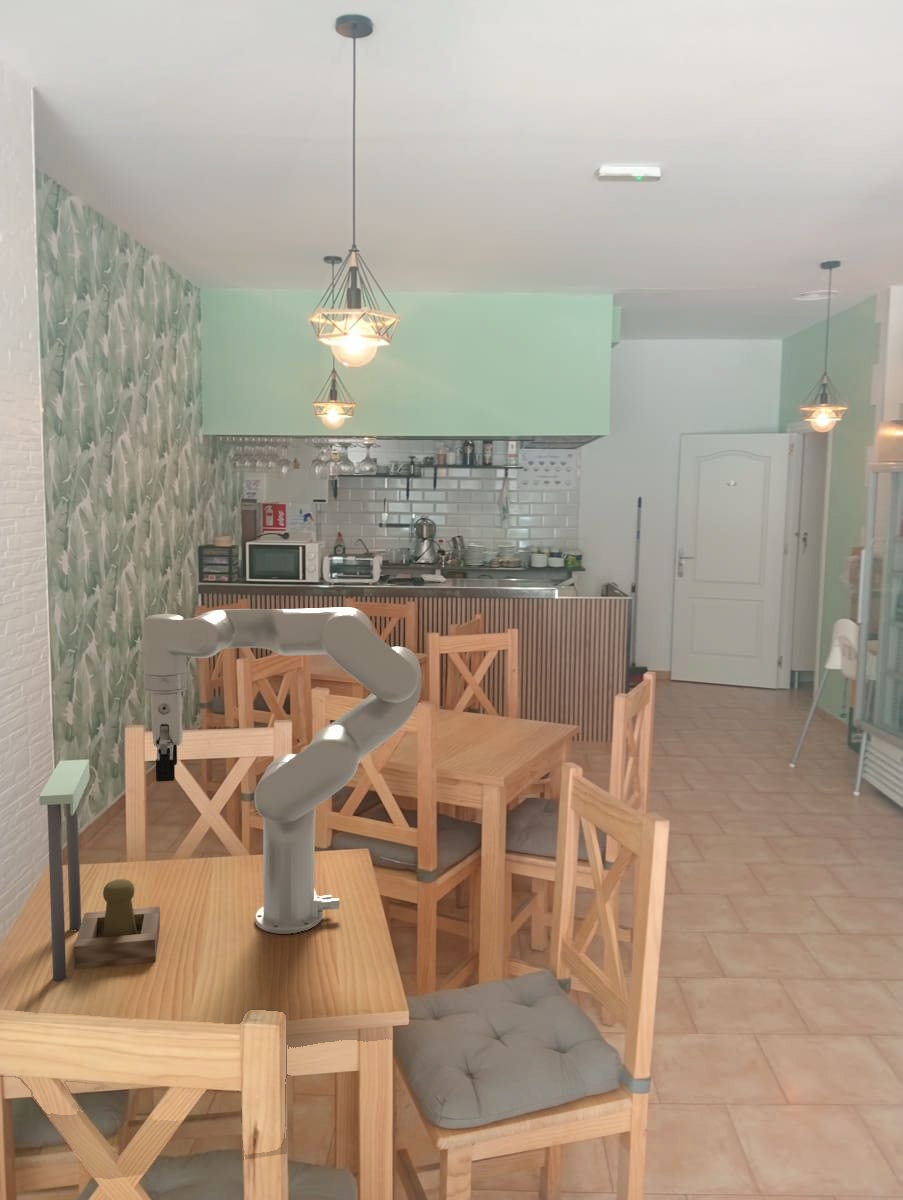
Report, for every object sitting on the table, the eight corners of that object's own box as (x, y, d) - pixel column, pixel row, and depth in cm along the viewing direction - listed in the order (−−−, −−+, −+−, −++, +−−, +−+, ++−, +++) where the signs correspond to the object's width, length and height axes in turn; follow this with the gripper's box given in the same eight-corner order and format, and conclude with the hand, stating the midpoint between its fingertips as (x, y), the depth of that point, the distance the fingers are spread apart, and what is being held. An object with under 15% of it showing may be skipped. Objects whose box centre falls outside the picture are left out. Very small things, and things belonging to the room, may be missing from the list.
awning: (93, 924, 176) (89, 759, 172) (78, 979, 157) (72, 794, 153) (64, 927, 175) (59, 760, 171) (45, 982, 155) (39, 796, 152)
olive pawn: (126, 951, 164) (124, 891, 163) (94, 947, 165) (93, 887, 164) (144, 936, 170) (143, 877, 168) (114, 932, 171) (112, 873, 170)
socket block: (159, 927, 175) (159, 906, 175) (155, 961, 163) (154, 939, 162) (85, 933, 172) (84, 912, 172) (74, 969, 160) (74, 946, 159)
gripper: (185, 691, 166) (186, 786, 168) (188, 672, 183) (189, 758, 185) (140, 692, 164) (142, 788, 166) (147, 673, 181) (149, 760, 183)
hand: (166, 772), depth 176 cm, fingers open, 9 cm apart
